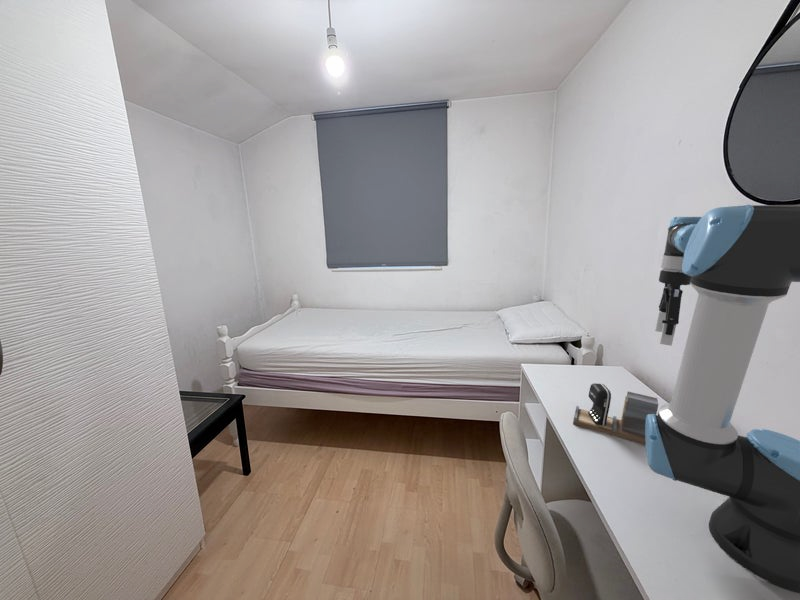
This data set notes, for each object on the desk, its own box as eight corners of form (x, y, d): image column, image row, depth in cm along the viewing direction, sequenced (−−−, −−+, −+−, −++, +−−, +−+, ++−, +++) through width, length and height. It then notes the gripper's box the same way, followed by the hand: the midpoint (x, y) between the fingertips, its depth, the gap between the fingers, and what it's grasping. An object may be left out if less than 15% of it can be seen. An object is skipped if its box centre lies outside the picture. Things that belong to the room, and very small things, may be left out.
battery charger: (584, 412, 105) (589, 380, 102) (597, 413, 104) (602, 381, 102) (593, 425, 98) (598, 391, 95) (606, 426, 98) (612, 392, 95)
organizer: (657, 449, 90) (666, 409, 87) (573, 424, 102) (578, 388, 99) (655, 434, 97) (663, 396, 94) (575, 411, 108) (580, 377, 105)
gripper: (703, 277, 84) (685, 353, 89) (686, 266, 104) (672, 328, 109) (666, 274, 88) (651, 347, 93) (656, 264, 108) (645, 325, 113)
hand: (662, 337), depth 101 cm, fingers open, 13 cm apart
